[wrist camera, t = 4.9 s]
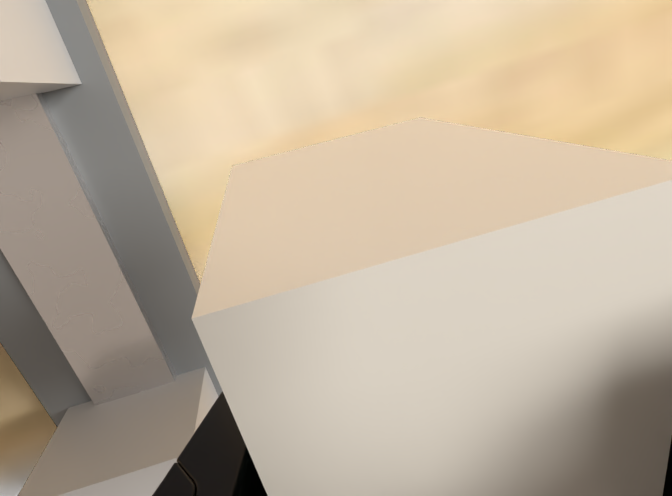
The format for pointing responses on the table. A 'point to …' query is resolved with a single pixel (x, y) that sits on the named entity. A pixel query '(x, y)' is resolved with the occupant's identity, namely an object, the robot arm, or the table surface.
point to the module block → (446, 315)
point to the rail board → (91, 265)
